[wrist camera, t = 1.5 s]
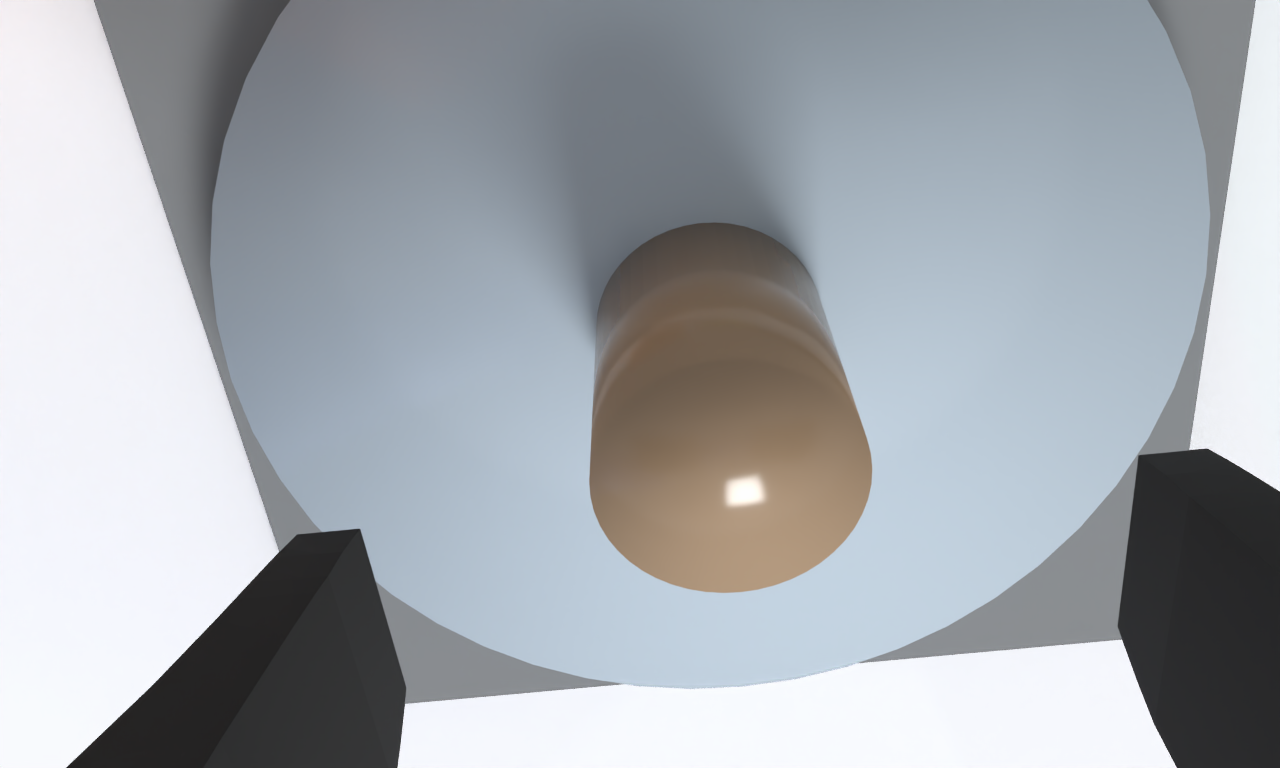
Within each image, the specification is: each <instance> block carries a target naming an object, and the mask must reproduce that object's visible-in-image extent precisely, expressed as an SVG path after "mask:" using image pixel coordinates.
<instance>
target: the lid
mask: <svg viewBox="0 0 1280 768" xmlns="http://www.w3.org/2000/svg"><path fill="white" fill-rule="evenodd" d="M1209 226H1210V205H1209V193H1208V180H1207V167H1206V155H1205V150H1204V145H1203V141H1202V137H1201V133H1200V128H1199V124H1198V120H1197V116H1196V111H1195V107H1194V103H1193V99H1192V95H1191V91H1190V88H1189V86H1188V83H1187V81H1186V79H1185V76H1184V74H1183V71H1182V69H1181V66H1180V64H1179V61H1178V59H1177V56H1176V54H1175V52H1174V49H1173V47H1172V44H1171V42H1170V39H1169V37H1168V34H1167V32H1166V30H1165V28H1164V27H1163V25H1162V23H1161V22H1160V20H1159V18H1158V17H1157V15H1156V14H1155V12H1154V10H1153V9H1152V7H1151V5H1150V4H1149V2H1148V0H290V2H289V3H288V4H287V6H286V7H285V8H284V10H283V11H282V13H281V14H280V15H279V17H278V18H277V20H276V22H275V24H274V26H273V28H272V30H271V31H270V33H269V35H268V37H267V39H266V41H265V43H264V45H263V47H262V49H261V50H260V52H259V54H258V56H257V58H256V60H255V62H254V64H253V66H252V67H251V69H250V71H249V73H248V75H247V77H246V79H245V82H244V85H243V88H242V91H241V94H240V96H239V99H238V102H237V105H236V108H235V111H234V114H233V117H232V119H231V122H230V125H229V128H228V131H227V134H226V137H225V139H224V144H223V149H222V155H221V160H220V165H219V171H218V176H217V181H216V187H215V192H214V197H213V203H212V229H211V256H210V267H211V276H212V285H213V294H214V304H215V313H216V322H217V326H218V330H219V334H220V338H221V342H222V346H223V350H224V354H225V358H226V362H227V365H228V369H229V373H230V377H231V380H232V383H233V385H234V388H235V390H236V393H237V395H238V397H239V400H240V402H241V405H242V407H243V410H244V412H245V414H246V417H247V419H248V422H249V424H250V427H251V429H252V431H253V433H254V435H255V437H256V438H257V440H258V442H259V444H260V445H261V447H262V449H263V451H264V452H265V454H266V456H267V458H268V459H269V461H270V463H271V464H272V466H273V468H274V470H275V471H276V473H277V475H278V477H279V478H280V480H281V481H282V483H283V484H284V485H285V486H286V488H287V489H288V490H289V492H290V493H291V494H292V496H293V497H294V498H295V500H296V501H297V502H298V504H299V505H300V506H301V507H302V509H303V510H304V511H305V513H306V514H307V515H308V517H309V518H310V519H311V521H312V522H313V523H314V524H315V525H316V526H317V527H318V528H319V529H320V530H321V531H322V532H328V531H339V530H349V529H361V533H362V536H363V540H364V543H365V547H366V550H367V554H368V557H369V560H370V564H371V567H372V571H373V574H374V578H375V581H376V582H377V583H378V584H379V585H381V586H382V587H383V588H384V589H386V590H387V591H388V592H389V593H391V594H392V595H393V596H395V597H396V598H398V599H400V600H401V601H403V602H404V603H406V604H407V605H409V606H411V607H412V608H414V609H415V610H417V611H418V612H420V613H422V614H423V615H425V616H426V617H428V618H429V619H431V620H433V621H434V622H436V623H437V624H439V625H441V626H443V627H446V628H448V629H450V630H452V631H454V632H456V633H458V634H460V635H462V636H464V637H466V638H468V639H470V640H472V641H474V642H476V643H478V644H480V645H482V646H484V647H487V648H489V649H492V650H495V651H498V652H500V653H503V654H506V655H508V656H511V657H514V658H517V659H519V660H522V661H525V662H527V663H530V664H533V665H536V666H540V667H544V668H548V669H552V670H556V671H560V672H564V673H568V674H571V675H575V676H579V677H583V678H588V679H595V680H602V681H608V682H615V683H621V684H628V685H635V686H648V687H667V688H686V689H695V688H717V687H740V686H749V685H756V684H763V683H770V682H778V681H785V680H792V679H798V678H802V677H806V676H810V675H814V674H818V673H822V672H827V671H831V670H835V669H839V668H843V667H847V666H850V665H853V664H856V663H859V662H862V661H865V660H868V659H871V658H873V657H876V656H879V655H882V654H885V653H888V652H891V651H894V650H897V649H899V648H901V647H904V646H906V645H908V644H910V643H912V642H914V641H917V640H919V639H921V638H923V637H925V636H927V635H930V634H932V633H934V632H936V631H938V630H940V629H943V628H945V627H947V626H949V625H950V624H952V623H954V622H955V621H957V620H959V619H961V618H962V617H964V616H966V615H967V614H969V613H971V612H972V611H974V610H976V609H978V608H979V607H981V606H983V605H984V604H986V603H988V602H989V601H991V600H993V599H994V598H996V597H997V596H999V595H1000V594H1001V593H1003V592H1004V591H1005V590H1007V589H1008V588H1009V587H1011V586H1012V585H1013V584H1015V583H1016V582H1017V581H1019V580H1020V579H1021V578H1023V577H1024V576H1026V575H1027V574H1028V573H1030V572H1031V571H1032V570H1034V569H1035V568H1036V567H1038V566H1039V565H1040V564H1041V563H1042V562H1043V561H1044V560H1045V559H1047V558H1048V557H1049V556H1050V555H1051V554H1052V553H1053V552H1054V551H1055V550H1056V549H1057V548H1058V547H1060V546H1061V545H1062V544H1063V543H1064V542H1065V541H1066V540H1067V539H1068V538H1069V537H1070V536H1072V535H1073V534H1074V533H1075V532H1076V531H1077V530H1078V529H1079V528H1080V527H1081V526H1082V525H1083V524H1084V522H1085V521H1086V520H1087V519H1088V518H1089V517H1090V515H1091V514H1092V513H1093V512H1094V511H1095V510H1096V509H1097V507H1098V506H1099V505H1100V504H1101V503H1102V502H1103V500H1104V499H1105V498H1106V497H1107V496H1108V495H1109V493H1110V492H1111V491H1112V490H1113V489H1114V488H1115V487H1116V485H1117V484H1118V482H1119V481H1120V479H1121V478H1122V476H1123V475H1124V474H1125V472H1126V471H1127V469H1128V468H1129V466H1130V465H1131V463H1132V462H1133V460H1134V459H1135V457H1136V456H1137V454H1138V453H1139V451H1140V450H1141V448H1142V447H1143V446H1144V444H1145V443H1146V441H1147V440H1148V438H1149V436H1150V434H1151V432H1152V430H1153V428H1154V426H1155V424H1156V422H1157V420H1158V418H1159V416H1160V415H1161V413H1162V411H1163V409H1164V407H1165V405H1166V403H1167V401H1168V399H1169V397H1170V395H1171V393H1172V391H1173V389H1174V387H1175V384H1176V381H1177V379H1178V376H1179V373H1180V370H1181V367H1182V365H1183V362H1184V359H1185V356H1186V354H1187V351H1188V348H1189V345H1190V342H1191V340H1192V337H1193V334H1194V330H1195V325H1196V321H1197V316H1198V311H1199V307H1200V302H1201V297H1202V292H1203V288H1204V283H1205V278H1206V270H1207V256H1208V241H1209Z"/></svg>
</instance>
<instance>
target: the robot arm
mask: <svg viewBox="0 0 1280 768" xmlns="http://www.w3.org/2000/svg"><path fill="white" fill-rule="evenodd" d="M1118 629H1119V632H1120V635H1121V637H1122V640H1123V643H1124V646H1125V649H1126V651H1127V654H1128V657H1129V660H1130V662H1131V665H1132V668H1133V671H1134V673H1135V676H1136V679H1137V682H1138V684H1139V687H1140V689H1141V692H1142V694H1143V697H1144V699H1145V702H1146V704H1147V707H1148V709H1149V712H1150V715H1151V717H1152V720H1153V722H1154V725H1155V726H1156V728H1157V730H1158V732H1159V734H1160V736H1161V738H1162V740H1163V742H1164V744H1165V746H1166V748H1167V750H1168V752H1169V753H1170V755H1171V757H1172V759H1173V761H1174V763H1175V765H1176V767H1177V768H1280V491H1278V490H1276V489H1275V488H1273V487H1271V486H1270V485H1268V484H1267V483H1265V482H1263V481H1262V480H1260V479H1259V478H1257V477H1255V476H1254V475H1252V474H1250V473H1249V472H1247V471H1245V470H1244V469H1242V468H1241V467H1239V466H1237V465H1235V464H1234V463H1232V462H1230V461H1229V460H1227V459H1225V458H1223V457H1222V456H1220V455H1218V454H1216V453H1214V452H1212V451H1211V450H1209V449H1198V450H1187V451H1177V452H1166V453H1155V454H1145V455H1138V464H1137V472H1136V480H1135V488H1134V496H1133V504H1132V512H1131V520H1130V528H1129V536H1128V545H1127V553H1126V561H1125V569H1124V577H1123V585H1122V593H1121V601H1120V609H1119V618H1118ZM405 697H406V685H405V681H404V678H403V674H402V671H401V667H400V664H399V660H398V657H397V654H396V650H395V647H394V643H393V640H392V636H391V633H390V629H389V626H388V622H387V619H386V616H385V612H384V609H383V605H382V602H381V598H380V595H379V591H378V588H377V585H376V581H375V578H374V574H373V571H372V567H371V564H370V560H369V557H368V554H367V550H366V547H365V543H364V540H363V536H362V533H361V529H349V530H339V531H328V532H317V533H307V534H297V535H296V536H295V537H294V538H293V539H292V540H291V541H290V542H289V543H288V544H287V545H286V546H285V547H284V548H283V549H282V550H281V551H280V552H279V553H278V554H277V555H276V556H275V557H274V558H273V559H272V560H271V561H270V562H269V563H268V564H267V566H266V567H265V568H264V569H263V570H262V571H261V572H260V573H259V574H258V575H257V576H256V577H255V578H254V579H253V580H252V581H251V583H250V584H249V585H248V586H247V587H246V588H245V589H244V590H243V591H242V592H241V593H240V594H239V595H238V597H237V598H236V599H235V600H234V601H233V602H232V603H231V604H230V605H229V606H228V607H227V608H226V609H225V610H224V612H223V613H222V614H221V615H220V616H219V617H218V618H217V619H216V620H215V621H214V622H213V623H212V624H211V625H210V626H209V627H208V628H207V629H206V630H205V632H204V633H203V634H202V635H201V636H200V637H199V638H198V639H197V640H196V641H195V642H194V643H193V644H192V645H191V646H190V647H189V648H188V649H187V650H186V651H185V652H184V653H183V654H182V655H181V656H180V658H179V659H178V660H177V661H176V662H175V663H174V664H173V665H172V666H171V667H170V668H169V669H168V670H167V671H166V672H165V673H164V674H163V675H162V676H161V677H160V678H159V679H158V680H157V681H156V682H155V683H154V684H153V685H152V686H151V687H150V688H149V689H148V690H147V691H146V692H145V693H144V694H143V695H142V696H141V697H140V698H139V699H138V700H137V701H136V702H135V703H134V704H133V705H132V706H131V707H129V708H128V709H127V710H126V711H125V712H124V713H123V714H122V715H121V716H120V717H119V718H118V719H117V720H116V721H115V722H114V723H113V724H112V725H111V726H110V727H108V728H107V729H106V730H105V731H104V732H103V733H102V734H101V735H100V736H99V737H98V738H97V739H96V740H95V741H94V742H93V743H92V744H91V745H90V746H89V747H88V748H86V749H85V750H84V751H83V752H82V753H81V754H80V755H79V756H78V757H77V758H76V759H75V760H74V761H73V762H72V763H71V764H70V765H69V766H68V767H67V768H397V766H398V758H399V751H400V743H401V734H402V725H403V716H404V707H405Z"/></svg>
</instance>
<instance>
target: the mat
mask: <svg viewBox="0 0 1280 768" xmlns="http://www.w3.org/2000/svg"><path fill="white" fill-rule="evenodd" d="M1255 1H1256V0H1148V2H1149V4H1150V5H1151V7H1152V9H1153V10H1154V12H1155V14H1156V15H1157V17H1158V18H1159V20H1160V22H1161V23H1162V25H1163V27H1164V28H1165V30H1166V32H1167V34H1168V37H1169V39H1170V42H1171V44H1172V47H1173V49H1174V52H1175V54H1176V56H1177V59H1178V61H1179V64H1180V66H1181V69H1182V71H1183V74H1184V76H1185V79H1186V81H1187V83H1188V86H1189V88H1190V91H1191V95H1192V99H1193V103H1194V107H1195V111H1196V116H1197V120H1198V124H1199V128H1200V133H1201V137H1202V141H1203V145H1204V150H1205V155H1206V167H1207V180H1208V193H1209V205H1210V226H1209V241H1208V256H1207V270H1206V278H1205V283H1204V288H1203V292H1202V297H1201V302H1200V307H1199V311H1198V316H1197V321H1196V325H1195V330H1194V334H1193V337H1192V340H1191V342H1190V345H1189V348H1188V351H1187V354H1186V356H1185V359H1184V362H1183V365H1182V367H1181V370H1180V373H1179V376H1178V379H1177V381H1176V384H1175V387H1174V389H1173V391H1172V393H1171V395H1170V397H1169V399H1168V401H1167V403H1166V405H1165V407H1164V409H1163V411H1162V413H1161V415H1160V416H1159V418H1158V420H1157V422H1156V424H1155V426H1154V428H1153V430H1152V432H1151V434H1150V436H1149V438H1148V440H1147V441H1146V443H1145V444H1144V446H1143V447H1142V448H1141V450H1140V451H1139V453H1138V454H1137V456H1136V457H1135V459H1134V460H1133V462H1132V463H1131V465H1130V466H1129V468H1128V469H1127V471H1126V472H1125V474H1124V475H1123V476H1122V478H1121V479H1120V481H1119V482H1118V484H1117V485H1116V487H1115V488H1114V489H1113V490H1112V491H1111V492H1110V493H1109V495H1108V496H1107V497H1106V498H1105V499H1104V500H1103V502H1102V503H1101V504H1100V505H1099V506H1098V507H1097V509H1096V510H1095V511H1094V512H1093V513H1092V514H1091V515H1090V517H1089V518H1088V519H1087V520H1086V521H1085V522H1084V524H1083V525H1082V526H1081V527H1080V528H1079V529H1078V530H1077V531H1076V532H1075V533H1074V534H1073V535H1072V536H1070V537H1069V538H1068V539H1067V540H1066V541H1065V542H1064V543H1063V544H1062V545H1061V546H1060V547H1058V548H1057V549H1056V550H1055V551H1054V552H1053V553H1052V554H1051V555H1050V556H1049V557H1048V558H1047V559H1045V560H1044V561H1043V562H1042V563H1041V564H1040V565H1039V566H1038V567H1036V568H1035V569H1034V570H1032V571H1031V572H1030V573H1028V574H1027V575H1026V576H1024V577H1023V578H1021V579H1020V580H1019V581H1017V582H1016V583H1015V584H1013V585H1012V586H1011V587H1009V588H1008V589H1007V590H1005V591H1004V592H1003V593H1001V594H1000V595H999V596H997V597H996V598H994V599H993V600H991V601H989V602H988V603H986V604H984V605H983V606H981V607H979V608H978V609H976V610H974V611H972V612H971V613H969V614H967V615H966V616H964V617H962V618H961V619H959V620H957V621H955V622H954V623H952V624H950V625H949V626H947V627H945V628H943V629H940V630H938V631H936V632H934V633H932V634H930V635H927V636H925V637H923V638H921V639H919V640H917V641H914V642H912V643H910V644H908V645H906V646H904V647H901V648H899V649H897V650H894V651H891V652H888V653H885V654H882V655H879V656H876V657H873V658H871V659H868V660H865V661H862V662H859V663H865V662H876V661H887V660H898V659H909V658H920V657H931V656H943V655H954V654H965V653H976V652H987V651H998V650H1010V649H1021V648H1032V647H1043V646H1054V645H1065V644H1076V643H1088V642H1099V641H1110V640H1121V639H1122V637H1121V635H1120V632H1119V629H1118V618H1119V609H1120V601H1121V593H1122V585H1123V577H1124V569H1125V561H1126V553H1127V545H1128V536H1129V528H1130V520H1131V512H1132V504H1133V496H1134V488H1135V480H1136V472H1137V464H1138V455H1145V454H1155V453H1166V452H1177V451H1187V450H1189V447H1190V440H1191V433H1192V426H1193V420H1194V413H1195V406H1196V399H1197V393H1198V386H1199V379H1200V372H1201V366H1202V359H1203V352H1204V345H1205V339H1206V332H1207V325H1208V318H1209V312H1210V305H1211V298H1212V291H1213V285H1214V278H1215V271H1216V264H1217V258H1218V251H1219V244H1220V237H1221V231H1222V224H1223V217H1224V210H1225V204H1226V197H1227V190H1228V183H1229V177H1230V170H1231V163H1232V156H1233V150H1234V143H1235V136H1236V129H1237V122H1238V116H1239V109H1240V102H1241V95H1242V89H1243V82H1244V75H1245V68H1246V62H1247V55H1248V48H1249V41H1250V35H1251V28H1252V21H1253V14H1254V8H1255ZM94 2H95V5H96V8H97V11H98V14H99V17H100V20H101V23H102V26H103V29H104V32H105V35H106V38H107V41H108V44H109V47H110V50H111V53H112V56H113V59H114V62H115V65H116V68H117V71H118V74H119V77H120V80H121V83H122V86H123V88H124V91H125V94H126V97H127V100H128V103H129V106H130V109H131V112H132V115H133V118H134V121H135V124H136V127H137V130H138V133H139V136H140V139H141V142H142V145H143V148H144V151H145V154H146V157H147V160H148V163H149V166H150V169H151V172H152V175H153V178H154V181H155V184H156V186H157V189H158V192H159V195H160V198H161V201H162V204H163V207H164V210H165V213H166V216H167V219H168V222H169V225H170V228H171V231H172V234H173V237H174V240H175V243H176V246H177V249H178V252H179V255H180V258H181V261H182V264H183V267H184V270H185V273H186V276H187V279H188V282H189V284H190V287H191V290H192V293H193V296H194V299H195V302H196V305H197V308H198V311H199V314H200V317H201V320H202V323H203V326H204V329H205V332H206V335H207V338H208V341H209V344H210V347H211V350H212V353H213V356H214V359H215V362H216V365H217V368H218V371H219V374H220V377H221V379H222V382H223V385H224V388H225V391H226V394H227V397H228V400H229V403H230V406H231V409H232V412H233V415H234V418H235V421H236V424H237V427H238V430H239V433H240V436H241V439H242V442H243V445H244V448H245V451H246V454H247V457H248V460H249V463H250V466H251V469H252V472H253V475H254V477H255V480H256V483H257V486H258V489H259V492H260V495H261V498H262V501H263V504H264V507H265V510H266V513H267V516H268V519H269V522H270V525H271V528H272V531H273V534H274V537H275V540H276V543H277V546H278V549H279V552H280V551H281V550H282V549H283V548H284V547H285V546H286V545H287V544H288V543H289V542H290V541H291V540H292V539H293V538H294V537H295V536H296V535H297V534H307V533H317V532H322V531H321V530H320V529H319V528H318V527H317V526H316V525H315V524H314V523H313V522H312V521H311V519H310V518H309V517H308V515H307V514H306V513H305V511H304V510H303V509H302V507H301V506H300V505H299V504H298V502H297V501H296V500H295V498H294V497H293V496H292V494H291V493H290V492H289V490H288V489H287V488H286V486H285V485H284V484H283V483H282V481H281V480H280V478H279V477H278V475H277V473H276V471H275V470H274V468H273V466H272V464H271V463H270V461H269V459H268V458H267V456H266V454H265V452H264V451H263V449H262V447H261V445H260V444H259V442H258V440H257V438H256V437H255V435H254V433H253V431H252V429H251V427H250V424H249V422H248V419H247V417H246V414H245V412H244V410H243V407H242V405H241V402H240V400H239V397H238V395H237V393H236V390H235V388H234V385H233V383H232V380H231V377H230V373H229V369H228V365H227V362H226V358H225V354H224V350H223V346H222V342H221V338H220V334H219V330H218V326H217V322H216V313H215V304H214V294H213V285H212V276H211V267H210V256H211V229H212V203H213V197H214V192H215V187H216V181H217V176H218V171H219V165H220V160H221V155H222V149H223V144H224V139H225V137H226V134H227V131H228V128H229V125H230V122H231V119H232V117H233V114H234V111H235V108H236V105H237V102H238V99H239V96H240V94H241V91H242V88H243V85H244V82H245V79H246V77H247V75H248V73H249V71H250V69H251V67H252V66H253V64H254V62H255V60H256V58H257V56H258V54H259V52H260V50H261V49H262V47H263V45H264V43H265V41H266V39H267V37H268V35H269V33H270V31H271V30H272V28H273V26H274V24H275V22H276V20H277V18H278V17H279V15H280V14H281V13H282V11H283V10H284V8H285V7H286V6H287V4H288V3H289V2H290V0H94ZM376 585H377V588H378V591H379V595H380V598H381V602H382V605H383V609H384V612H385V616H386V619H387V622H388V626H389V629H390V633H391V636H392V640H393V643H394V647H395V650H396V654H397V657H398V660H399V664H400V667H401V671H402V674H403V678H404V681H405V685H406V697H405V704H407V703H419V702H430V701H441V700H452V699H463V698H474V697H486V696H497V695H508V694H519V693H530V692H541V691H552V690H564V689H575V688H586V687H597V686H608V685H619V684H621V683H615V682H608V681H602V680H595V679H588V678H583V677H579V676H575V675H571V674H568V673H564V672H560V671H556V670H552V669H548V668H544V667H540V666H536V665H533V664H530V663H527V662H525V661H522V660H519V659H517V658H514V657H511V656H508V655H506V654H503V653H500V652H498V651H495V650H492V649H489V648H487V647H484V646H482V645H480V644H478V643H476V642H474V641H472V640H470V639H468V638H466V637H464V636H462V635H460V634H458V633H456V632H454V631H452V630H450V629H448V628H446V627H443V626H441V625H439V624H437V623H436V622H434V621H433V620H431V619H429V618H428V617H426V616H425V615H423V614H422V613H420V612H418V611H417V610H415V609H414V608H412V607H411V606H409V605H407V604H406V603H404V602H403V601H401V600H400V599H398V598H396V597H395V596H393V595H392V594H391V593H389V592H388V591H387V590H386V589H384V588H383V587H382V586H381V585H379V584H378V583H377V582H376Z"/></svg>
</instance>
